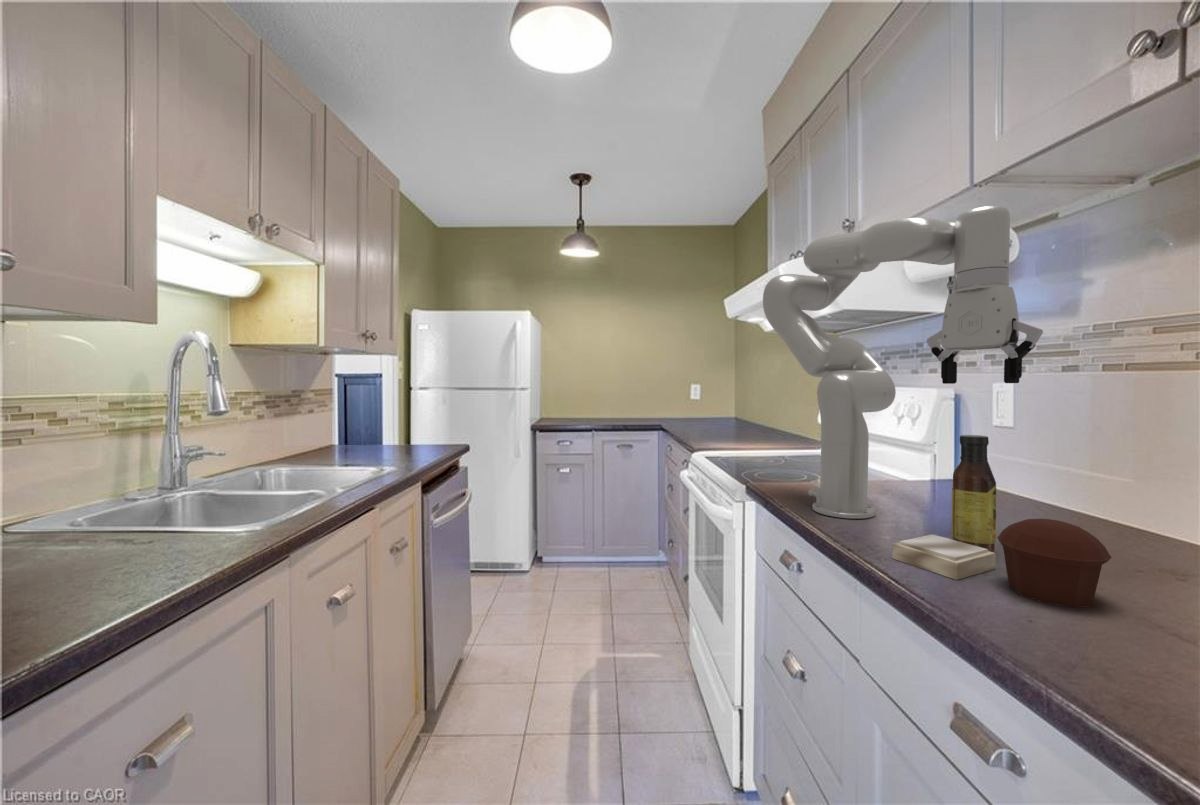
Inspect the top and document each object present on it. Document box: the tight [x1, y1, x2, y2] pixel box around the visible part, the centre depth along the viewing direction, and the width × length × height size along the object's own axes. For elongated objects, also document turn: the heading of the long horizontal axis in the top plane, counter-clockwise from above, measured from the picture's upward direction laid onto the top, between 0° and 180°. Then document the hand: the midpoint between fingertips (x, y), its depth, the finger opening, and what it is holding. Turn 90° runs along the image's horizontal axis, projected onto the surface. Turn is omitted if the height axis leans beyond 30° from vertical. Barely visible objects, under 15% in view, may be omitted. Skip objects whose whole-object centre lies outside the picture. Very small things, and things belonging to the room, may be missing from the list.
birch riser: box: [892, 533, 997, 581], centre depth 82 cm, size 10×10×3 cm
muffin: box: [996, 518, 1112, 609], centre depth 70 cm, size 12×11×10 cm
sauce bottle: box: [951, 434, 997, 553], centre depth 88 cm, size 6×6×20 cm
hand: (979, 383), depth 87 cm, fingers open, 9 cm apart
